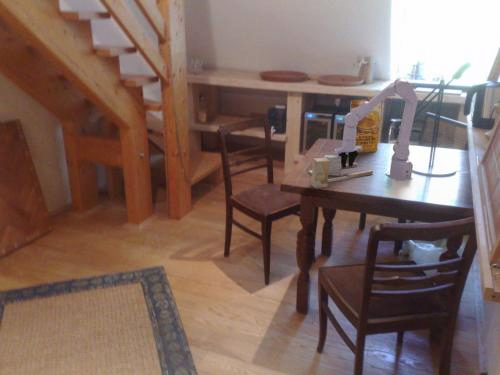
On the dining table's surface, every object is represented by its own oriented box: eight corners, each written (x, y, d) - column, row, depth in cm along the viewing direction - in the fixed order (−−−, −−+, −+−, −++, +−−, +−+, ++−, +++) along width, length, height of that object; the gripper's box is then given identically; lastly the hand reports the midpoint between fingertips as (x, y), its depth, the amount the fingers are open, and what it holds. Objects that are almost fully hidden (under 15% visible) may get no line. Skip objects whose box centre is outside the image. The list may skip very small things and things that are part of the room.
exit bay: (347, 178, 200) (347, 176, 200) (324, 182, 196) (325, 180, 195) (330, 169, 212) (330, 167, 212) (308, 172, 208) (308, 170, 207)
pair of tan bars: (372, 174, 206) (372, 171, 205) (347, 178, 201) (348, 175, 200) (355, 165, 217) (355, 162, 217) (331, 169, 212) (331, 166, 212)
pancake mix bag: (343, 149, 242) (348, 99, 231) (376, 148, 245) (382, 98, 234) (348, 153, 236) (352, 101, 225) (381, 151, 239) (387, 100, 228)
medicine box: (340, 173, 207) (341, 155, 203) (339, 176, 203) (341, 159, 199) (323, 171, 208) (324, 154, 205) (322, 175, 204) (323, 157, 201)
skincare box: (314, 188, 189) (316, 161, 185) (310, 184, 193) (312, 158, 189) (328, 187, 191) (330, 160, 186) (324, 183, 195) (325, 157, 190)
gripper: (357, 135, 208) (354, 162, 213) (331, 138, 202) (329, 166, 208) (366, 139, 202) (363, 166, 207) (340, 142, 196) (337, 171, 202)
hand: (346, 166), depth 207 cm, fingers open, 3 cm apart
